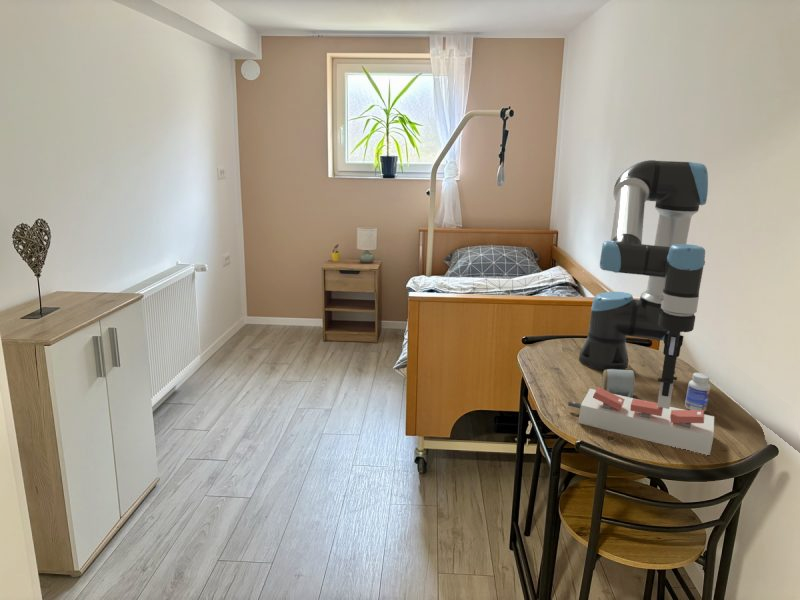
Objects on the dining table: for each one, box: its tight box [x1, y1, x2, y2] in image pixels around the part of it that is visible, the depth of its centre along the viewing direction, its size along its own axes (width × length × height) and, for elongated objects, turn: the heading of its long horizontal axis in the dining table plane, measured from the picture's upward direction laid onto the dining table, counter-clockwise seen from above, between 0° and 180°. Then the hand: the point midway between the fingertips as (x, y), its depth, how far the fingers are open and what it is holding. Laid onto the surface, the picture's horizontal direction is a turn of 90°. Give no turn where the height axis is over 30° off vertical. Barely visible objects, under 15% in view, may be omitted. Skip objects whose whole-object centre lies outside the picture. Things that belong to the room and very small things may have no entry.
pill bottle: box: [684, 372, 712, 412], centre depth 160 cm, size 5×5×10 cm
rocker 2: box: [630, 398, 663, 416], centre depth 144 cm, size 4×7×2 cm, turn 62°
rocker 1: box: [593, 386, 625, 411], centre depth 148 cm, size 4×7×2 cm, turn 62°
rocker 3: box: [670, 409, 705, 423], centre depth 140 cm, size 4×7×2 cm, turn 62°
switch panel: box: [567, 388, 715, 456], centre depth 148 cm, size 12×34×6 cm, turn 62°
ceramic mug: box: [601, 369, 636, 398], centre depth 165 cm, size 11×8×8 cm
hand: (663, 406), depth 142 cm, fingers closed
